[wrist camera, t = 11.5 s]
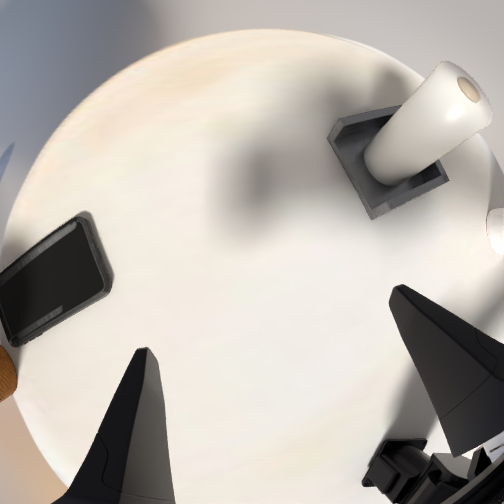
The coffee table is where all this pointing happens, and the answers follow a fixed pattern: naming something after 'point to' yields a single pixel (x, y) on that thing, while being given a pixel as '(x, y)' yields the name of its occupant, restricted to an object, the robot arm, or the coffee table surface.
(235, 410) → the coffee table surface
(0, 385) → the disposable coffee cup
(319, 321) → the coffee table surface
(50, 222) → the coffee table surface
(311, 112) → the coffee table surface
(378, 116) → the tray
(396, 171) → the paper roll
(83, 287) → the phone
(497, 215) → the cosmetic bottle
